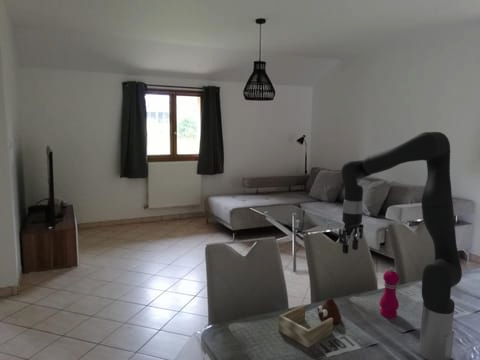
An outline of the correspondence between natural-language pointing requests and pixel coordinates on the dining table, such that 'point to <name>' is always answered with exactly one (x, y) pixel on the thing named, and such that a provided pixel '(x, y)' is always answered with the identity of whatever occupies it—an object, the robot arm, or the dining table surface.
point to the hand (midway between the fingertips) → (350, 251)
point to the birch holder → (301, 333)
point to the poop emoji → (329, 311)
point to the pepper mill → (389, 295)
